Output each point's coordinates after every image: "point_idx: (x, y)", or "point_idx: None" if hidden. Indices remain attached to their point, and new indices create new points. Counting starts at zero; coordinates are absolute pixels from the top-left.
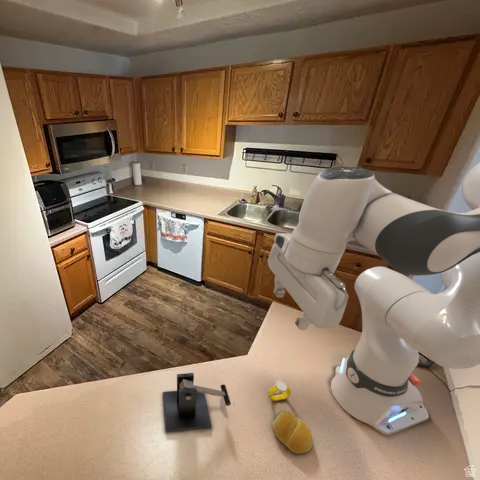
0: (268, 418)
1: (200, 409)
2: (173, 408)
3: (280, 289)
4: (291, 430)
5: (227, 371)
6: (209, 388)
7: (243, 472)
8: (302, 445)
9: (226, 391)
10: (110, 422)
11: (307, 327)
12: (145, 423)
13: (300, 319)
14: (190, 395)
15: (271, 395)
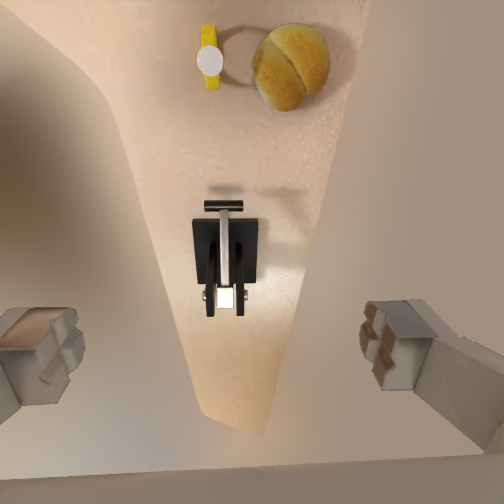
0: (253, 105)
1: (230, 233)
2: None
3: (16, 378)
4: (298, 80)
5: (147, 159)
6: (220, 245)
7: (323, 186)
8: (325, 69)
9: (219, 205)
10: (235, 336)
11: (431, 311)
12: None
13: (405, 381)
14: (244, 293)
15: (219, 88)
